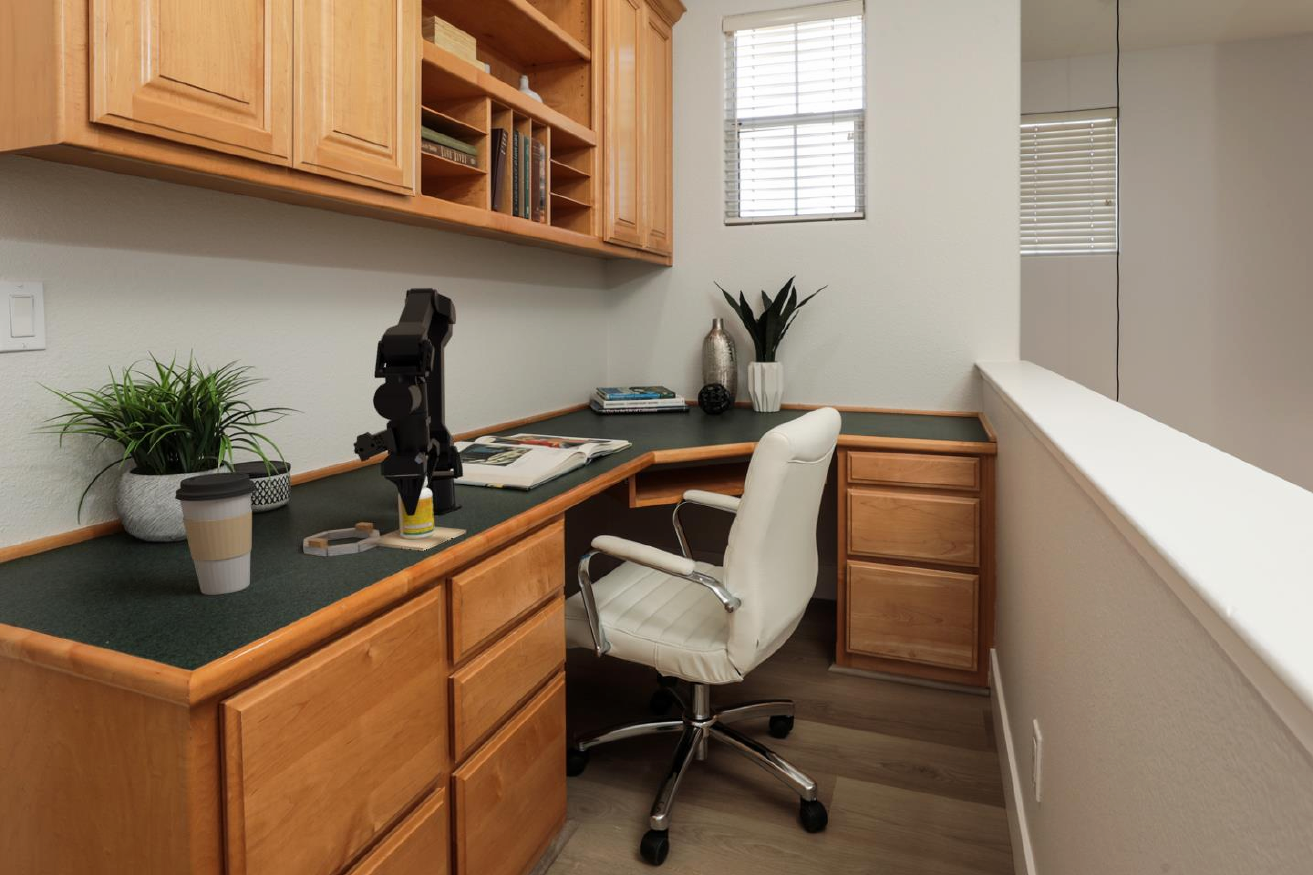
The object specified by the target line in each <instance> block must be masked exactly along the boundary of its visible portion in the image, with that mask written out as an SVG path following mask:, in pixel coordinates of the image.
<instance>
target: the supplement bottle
mask: <svg viewBox="0 0 1313 875" xmlns="http://www.w3.org/2000/svg"><path fill="white" fill-rule="evenodd" d="M427 484H428V480H427V476H426V479H425V482H424V485H423V488H422V492H421V495H420V499H419V502H418V505H417V509H416V512H415V515H413V516H408V515H407V514H406V511H405V508H404V505H403V502H402V499H401V497H400V494H399V493H398V494H397V502H398V504H397V506H398V519H399V520H398V521H399V523H398V524H399V529H400V535H401V537H403V538H405V539H422V538H426V537H430V536H432V535H433V534H434V532H435V530H434V527H435V516H434V515H435V514H434V512H433V495H432V491H431V490H430V489H428V488H426V486H427Z"/></svg>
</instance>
